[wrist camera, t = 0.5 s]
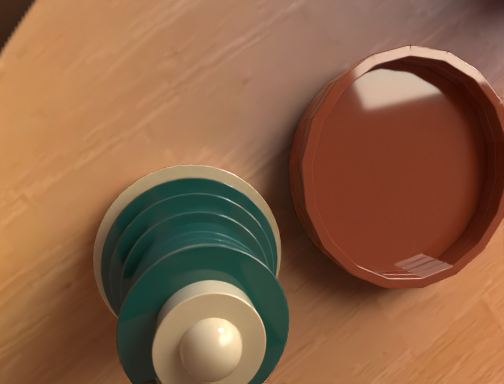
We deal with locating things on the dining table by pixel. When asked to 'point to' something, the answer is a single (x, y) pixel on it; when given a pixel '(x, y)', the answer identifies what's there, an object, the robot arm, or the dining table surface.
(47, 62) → the dining table surface
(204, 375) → the tagine lid
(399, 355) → the dining table surface
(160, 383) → the robot arm
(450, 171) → the tagine base
